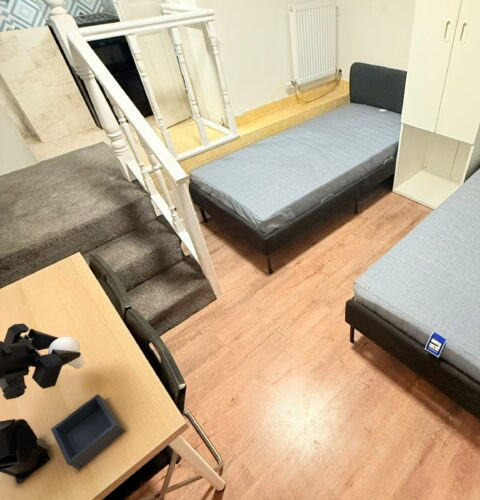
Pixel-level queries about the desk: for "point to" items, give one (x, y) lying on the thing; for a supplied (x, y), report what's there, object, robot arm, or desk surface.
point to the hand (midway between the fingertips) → (73, 348)
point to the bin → (87, 432)
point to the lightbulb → (68, 349)
